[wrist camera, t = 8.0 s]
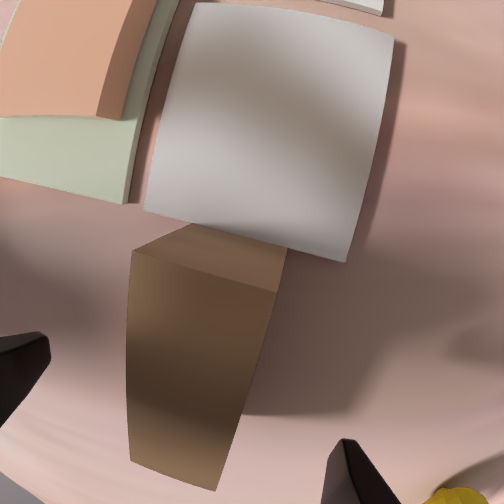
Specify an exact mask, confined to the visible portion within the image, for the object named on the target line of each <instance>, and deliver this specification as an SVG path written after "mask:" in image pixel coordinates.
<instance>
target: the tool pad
mask: <svg viewBox="0 0 504 504" xmlns="http://www.w3.org/2000/svg"><path fill="white" fill-rule="evenodd" d="M319 1H324V2H329V3H333V4H338V5H342V6H346V7H350V8H353V9H357V10H361V11H364V12H368V13H371V14H374V15H378V16H381V14H382V12H383V4H384V0H319Z"/></svg>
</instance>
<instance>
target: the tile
mask: <svg viewBox="0 0 504 504" xmlns="http://www.w3.org/2000/svg"><path fill="white" fill-rule="evenodd" d="M157 1H158V0H21V1H20V3H19V5H18V8H17V10H16V12H15V14H14V17H13V19H12V21H11V24H10V26H9V29H8V31H7V34H6V37H5V39H4V42H3V45H2V48H1V51H0V118H73V119H93V120H107V121H120V119H121V115H122V111H123V107H124V103H125V99H126V95H127V91H128V87H129V83H130V80H131V76H132V73H133V69H134V66H135V63H136V59H137V56H138V53H139V50H140V47H141V44H142V41H143V38H144V35H145V32H146V29H147V27H148V24H149V21H150V18H151V16H152V13H153V11H154V8H155V5H156V3H157Z"/></svg>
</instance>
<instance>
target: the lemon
mask: <svg viewBox="0 0 504 504" xmlns="http://www.w3.org/2000/svg"><path fill="white" fill-rule="evenodd" d="M423 504H488V502H487V500H486V498H485V497H484V496H483V495H482V494H481V493H479V492H478V491H476V490H473V489H470V488H468V487H459V488H453V489H447V488H445V487H442V488H440V489H439V490H437V491H436V493H435V494H434V495H433V497H431V498H430V499H428V500H427V501H426V502H424V503H423Z"/></svg>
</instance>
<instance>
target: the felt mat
mask: <svg viewBox="0 0 504 504" xmlns="http://www.w3.org/2000/svg"><path fill="white" fill-rule="evenodd" d="M20 1H21V0H18V3H17V5H16V7H15V9H14V11H13V14H12V16H11V18H10V21H9V23H8V26H7V28H6V31H5V33H4V36H3V38H2V41H1V44H0V51H1V48H2V45H3V42H4V39H5V37H6V34H7V31H8V29H9V26H10V24H11V21H12V19H13V17H14V14H15V12H16V10H17V8H18V5H19V3H20ZM179 1H180V0H158V1H157V3H156V5H155V8H154V11H153V13H152V16H151V18H150V21H149V24H148V27H147V29H146V32H145V35H144V38H143V41H142V44H141V47H140V50H139V53H138V56H137V59H136V63H135V66H134V69H133V73H132V76H131V80H130V83H129V87H128V91H127V95H126V99H125V103H124V107H123V111H122V115H121V119H120V121H107V120H93V119H73V118H0V176H1V177H6V178H10V179H14V180H19V181H23V182H28V183H32V184H36V185H41V186H45V187H49V188H53V189H58V190H62V191H66V192H70V193H75V194H79V195H83V196H87V197H91V198H95V199H100V200H104V201H108V202H112V203H116V204H120V205H124V204H127V203H128V196H129V190H130V184H131V178H132V172H133V166H134V161H135V155H136V150H137V145H138V140H139V136H140V131H141V126H142V122H143V118H144V113H145V109H146V105H147V101H148V97H149V93H150V90H151V86H152V82H153V79H154V75H155V72H156V68H157V65H158V61H159V58H160V55H161V52H162V49H163V45H164V42H165V39H166V36H167V33H168V30H169V28H170V25H171V22H172V19H173V16H174V14H175V11H176V8H177V6H178V3H179Z"/></svg>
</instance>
